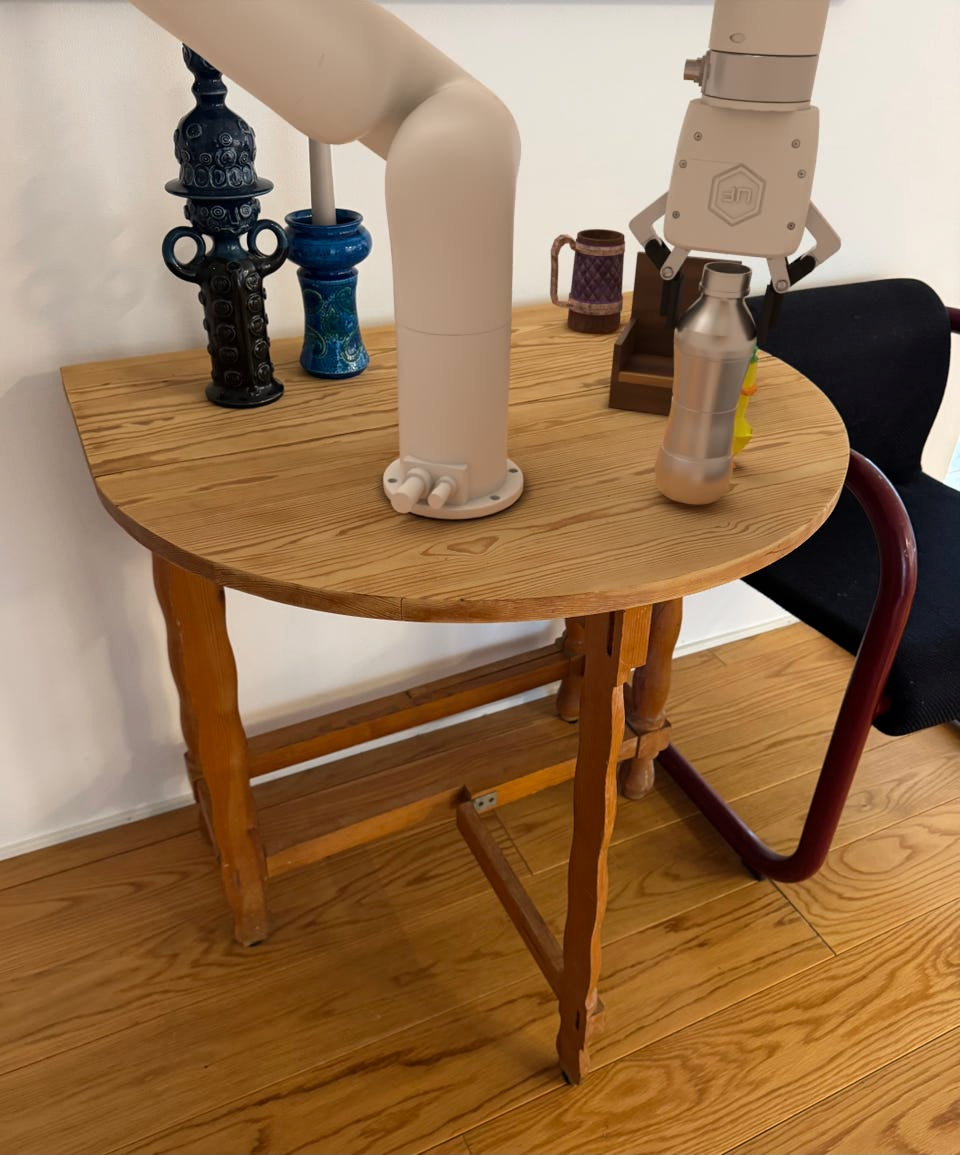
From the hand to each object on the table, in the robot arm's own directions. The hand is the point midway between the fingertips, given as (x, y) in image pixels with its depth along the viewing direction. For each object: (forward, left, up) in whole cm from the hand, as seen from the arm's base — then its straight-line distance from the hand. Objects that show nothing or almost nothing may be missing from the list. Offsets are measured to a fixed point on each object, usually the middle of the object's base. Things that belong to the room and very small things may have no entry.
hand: (716, 330), depth 76 cm
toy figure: (+8, -2, -16) cm, 18 cm away
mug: (+43, +20, -16) cm, 50 cm away
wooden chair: (+23, +6, -15) cm, 28 cm away
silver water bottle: (0, 0, -15) cm, 15 cm away
